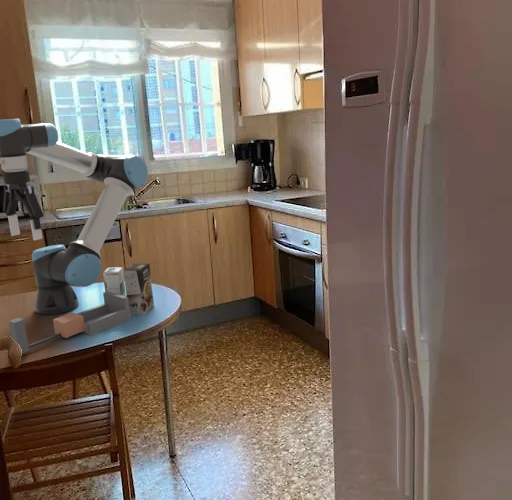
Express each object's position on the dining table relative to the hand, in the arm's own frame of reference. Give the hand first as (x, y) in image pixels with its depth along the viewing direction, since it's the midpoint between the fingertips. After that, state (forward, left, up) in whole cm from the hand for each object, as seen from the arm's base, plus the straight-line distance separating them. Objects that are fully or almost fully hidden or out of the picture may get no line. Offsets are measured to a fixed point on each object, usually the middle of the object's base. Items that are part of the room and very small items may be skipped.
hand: (26, 237), depth 175 cm
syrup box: (+5, +27, -32) cm, 42 cm away
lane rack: (+13, +14, -32) cm, 37 cm away
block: (+13, -5, -31) cm, 34 cm away
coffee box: (+15, +30, -32) cm, 46 cm away
